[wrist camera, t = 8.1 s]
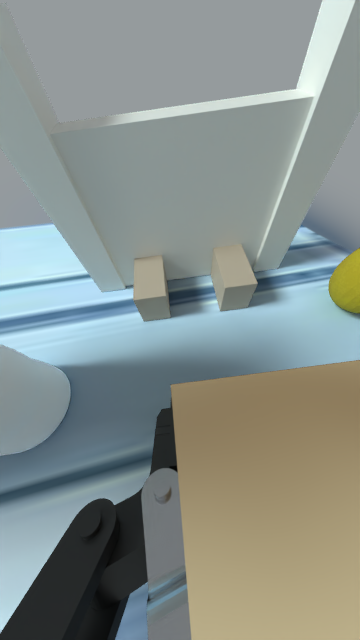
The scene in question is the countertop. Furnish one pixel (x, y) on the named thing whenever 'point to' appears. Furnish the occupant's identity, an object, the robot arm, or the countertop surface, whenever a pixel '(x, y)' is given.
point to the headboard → (185, 170)
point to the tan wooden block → (271, 503)
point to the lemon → (347, 283)
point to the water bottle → (29, 401)
